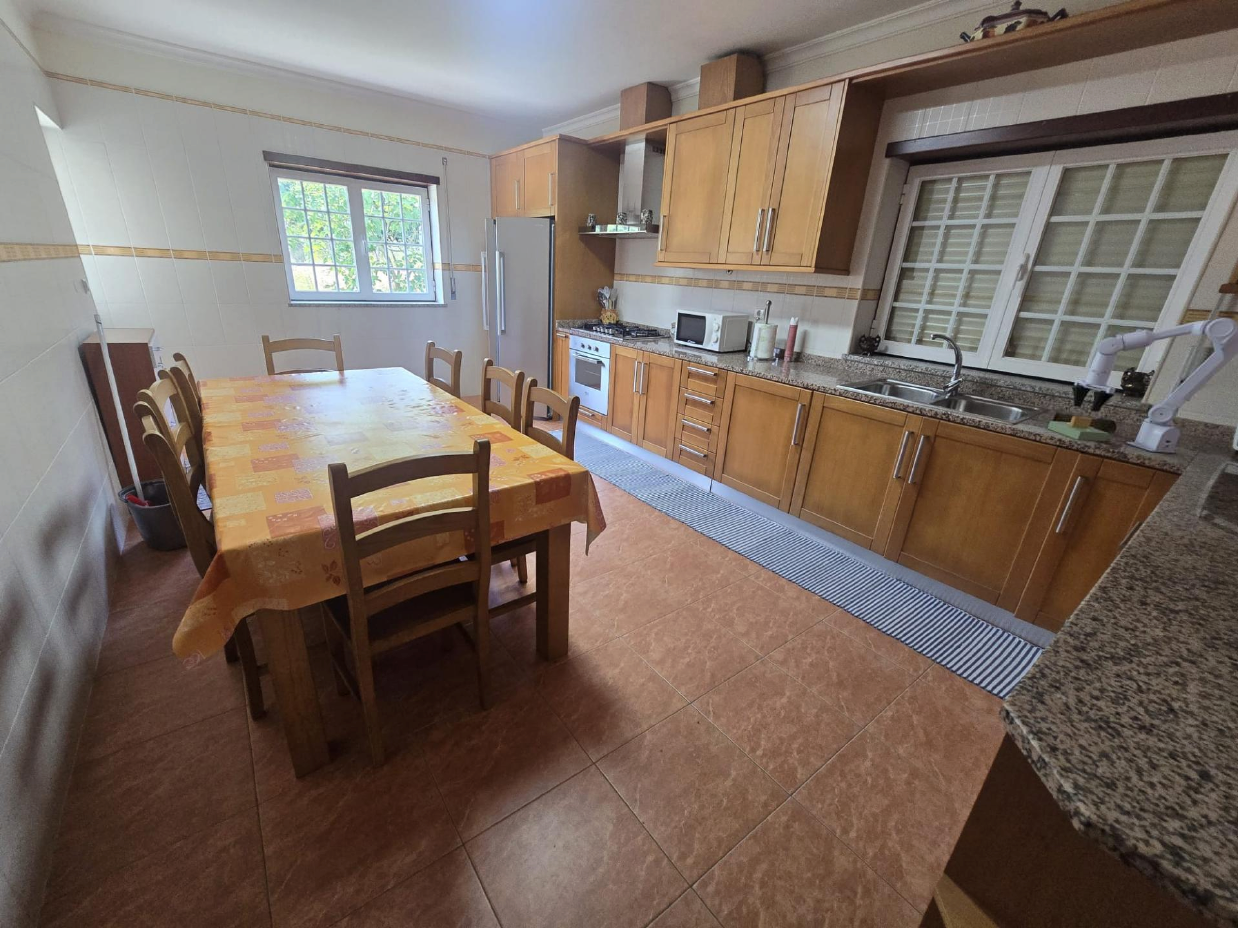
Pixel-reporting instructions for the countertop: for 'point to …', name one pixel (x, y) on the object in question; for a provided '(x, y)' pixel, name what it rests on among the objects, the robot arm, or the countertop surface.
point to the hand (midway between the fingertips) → (1085, 408)
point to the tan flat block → (1080, 422)
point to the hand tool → (1095, 423)
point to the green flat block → (1078, 431)
